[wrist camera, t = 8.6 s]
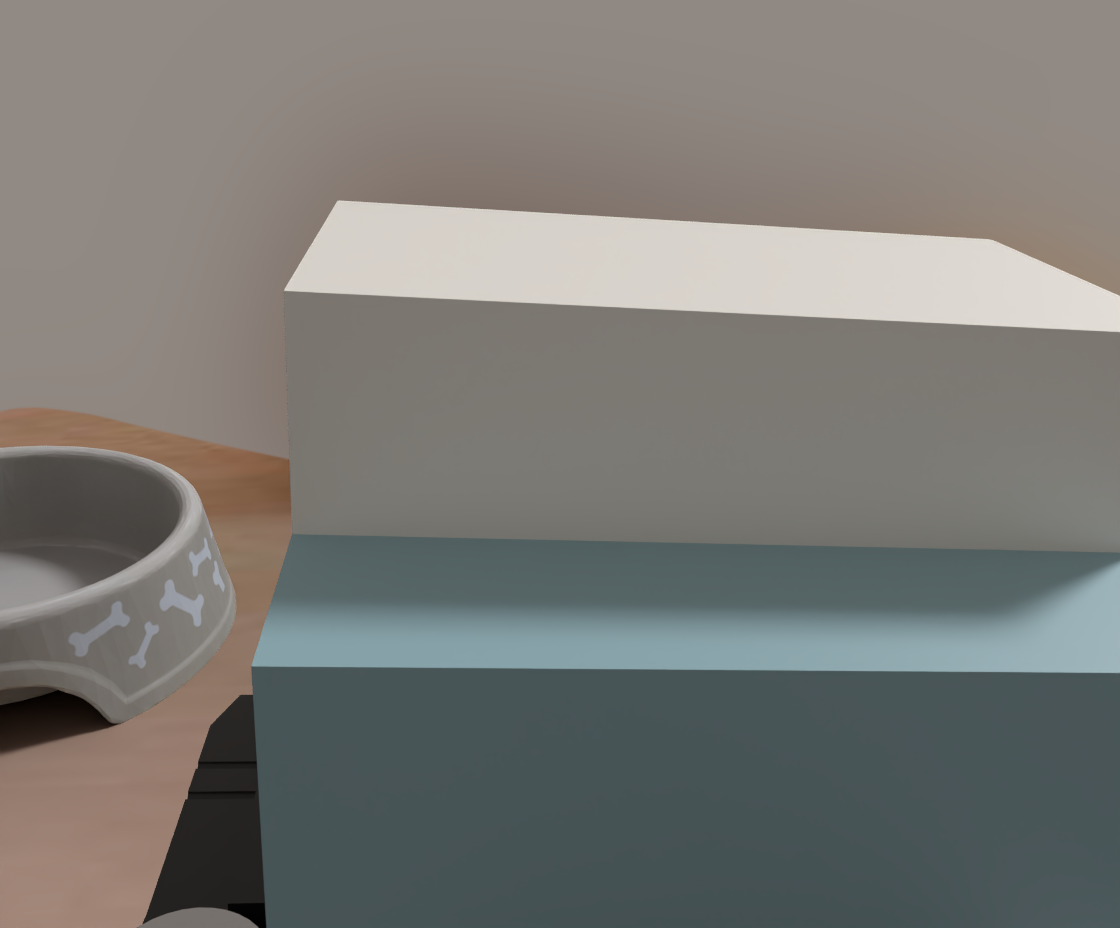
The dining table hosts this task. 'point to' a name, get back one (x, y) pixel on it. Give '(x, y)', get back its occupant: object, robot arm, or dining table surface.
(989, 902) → the carton
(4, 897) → the dining table surface
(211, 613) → the dog bowl
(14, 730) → the dining table surface
